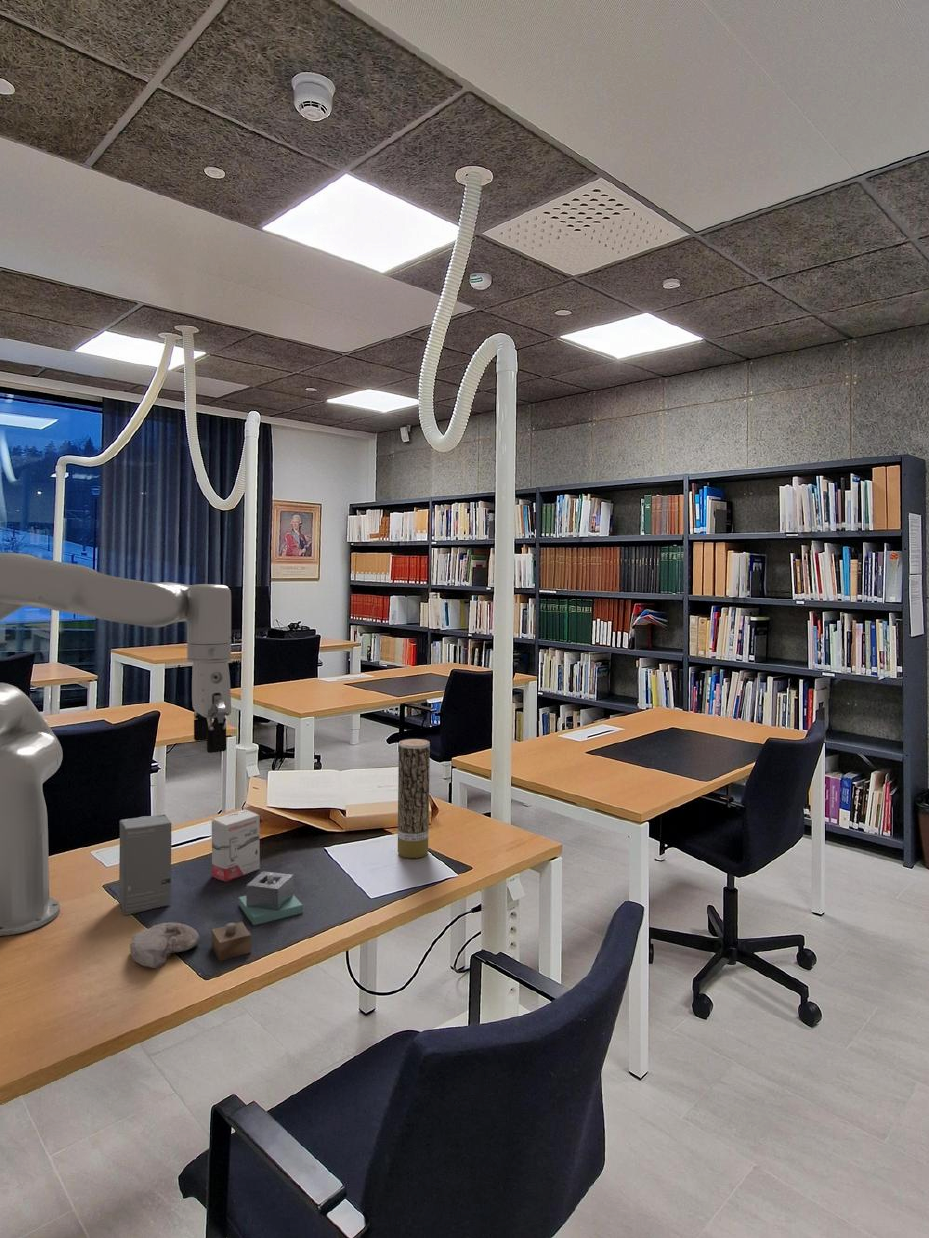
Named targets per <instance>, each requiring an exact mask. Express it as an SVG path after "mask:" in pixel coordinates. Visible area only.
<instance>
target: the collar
mask: <svg viewBox="0 0 929 1238" xmlns="http://www.w3.org/2000/svg"><path fill="white" fill-rule="evenodd" d="M269 873H273V874H274V881H276V883H275V884H265V882H266V881H267V874H269ZM245 886H246V888H245V890H246V891H245V892H246V893H245V894H246V895H245V896H246V907H253V908H261V909H269V910H276V911H278V910H279V909H280V908H281V907H282V906H283V905H284V904H285V903H286V902H287V901H288V900H289V899H290V898H291V897H292V896H293V895H294V874H291V873H281V872H273V871H261V872H260V873H259V874H258V875H257V876H255V877H254V878H253V879H252V880H251V881H250V882H248V883H247V884H246V885H245Z"/></svg>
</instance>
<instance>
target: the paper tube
mask: <svg viewBox="0 0 929 1238" xmlns="http://www.w3.org/2000/svg"><path fill="white" fill-rule="evenodd" d="M430 743H431V742H430V741H429V740H427V739H423V738H421V739H420V738H408V739H402V740H400V741H399V742H398V768H397V769H398V770H397V771H398V772H397V773H398V775H397V777H398V779H397V782H398V783H397V784H398V785H397V790H398V791H397V793H398V794H397V853H398V855H399V856H400V857H402V858H405V859H410V858H415V859H420V857H421V858H423V857H425V856H426V855H427V854H428V852H429V833H430V831H429V828H430V827H429V826H430V825H429V824H430V821H429V820H430V816H429V815H430V814H429V813H430V771H431V770H430V766H431V765H430V760H431V759H430V758H431V744H430Z"/></svg>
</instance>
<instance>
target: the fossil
mask: <svg viewBox="0 0 929 1238" xmlns="http://www.w3.org/2000/svg"><path fill="white" fill-rule="evenodd" d="M199 941H200V934H199V932H198V931H197V930H196V929H194V928H193V927H192V926H189V925H187V924H183V923H180V922H163V923H159V924H155V925H152V926H151V927H150V928H146V929H144V930H143V929H142V930H141V931H139V932H138V933H136V934H134V935H133V936H132V940H131V941H130V945H129V949H130V950H129V953H130V955H131V957H132V958H133V960H134V961H135V962H136V963H138V964H140V965H141V966H144V967H148V968H153V969H154V968H159V967H162V966H163V965H165V963H166V962H167V958H168V957H170V955H171V954H172V953H180V952H181V953H182V952H186V951H188V950H190V949H193V948H195V947H196V946H197V945H198V943H199Z"/></svg>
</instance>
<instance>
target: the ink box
mask: <svg viewBox="0 0 929 1238" xmlns="http://www.w3.org/2000/svg"><path fill="white" fill-rule="evenodd" d="M260 818H261V817H260V814H258V813H256V812H253V811H251V810H247V809H241V810H239V811H238V810H237V811H234V812H232V813H231V812H230V813H228V814H225V815H222V816H221V815H220V816H218V817H215V818H213V820H211V876H212V877H213V878H215V879H217V880H219V881H222V882H224V883H225V882H226V883H227V882H230V881H232V880H235V879H237V878H239V877H242V876H244V875H247V874H249V873H252V872H255V871H258V870H260V862H261V861H260V854H261V853H260V849H261V848H260V831H261V830H260V826H261V825H260V824H261V823H260V820H261V819H260Z"/></svg>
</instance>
